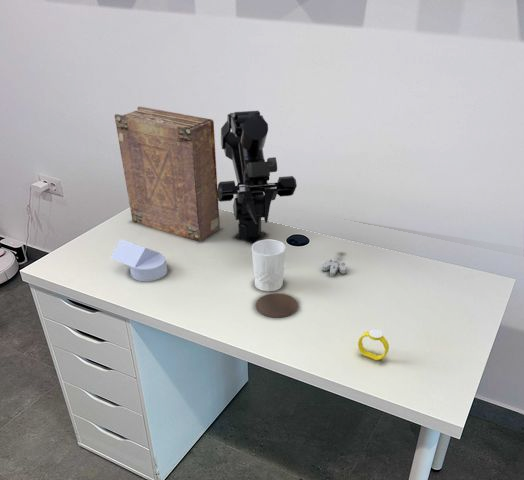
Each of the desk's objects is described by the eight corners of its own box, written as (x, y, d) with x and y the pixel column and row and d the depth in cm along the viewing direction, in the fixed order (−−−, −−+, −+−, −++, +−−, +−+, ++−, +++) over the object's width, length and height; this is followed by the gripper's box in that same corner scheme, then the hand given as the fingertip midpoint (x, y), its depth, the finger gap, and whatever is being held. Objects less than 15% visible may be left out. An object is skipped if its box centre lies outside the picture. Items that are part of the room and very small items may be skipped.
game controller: (323, 276, 132) (323, 267, 131) (320, 254, 141) (320, 245, 140) (346, 276, 132) (347, 267, 131) (341, 254, 141) (342, 245, 140)
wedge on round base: (112, 270, 136) (149, 285, 130) (107, 246, 132) (145, 260, 126) (137, 255, 142) (174, 269, 136) (133, 232, 137) (171, 245, 132)
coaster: (270, 290, 128) (270, 289, 128) (305, 302, 123) (305, 301, 123) (247, 309, 122) (247, 308, 121) (283, 322, 117) (283, 321, 117)
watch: (354, 355, 108) (357, 331, 104) (360, 348, 110) (363, 324, 106) (382, 365, 106) (386, 341, 102) (388, 357, 107) (392, 333, 104)
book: (131, 221, 158) (113, 114, 139) (152, 210, 164) (137, 105, 145) (200, 242, 147) (190, 128, 129) (220, 229, 153) (213, 119, 135)
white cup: (285, 293, 127) (285, 255, 120) (251, 293, 127) (250, 255, 121) (284, 276, 133) (285, 239, 127) (252, 275, 133) (252, 239, 127)
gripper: (215, 147, 121) (224, 213, 120) (296, 141, 124) (306, 206, 122) (214, 169, 132) (222, 230, 131) (287, 164, 135) (296, 223, 133)
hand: (261, 222), depth 129 cm, fingers closed
